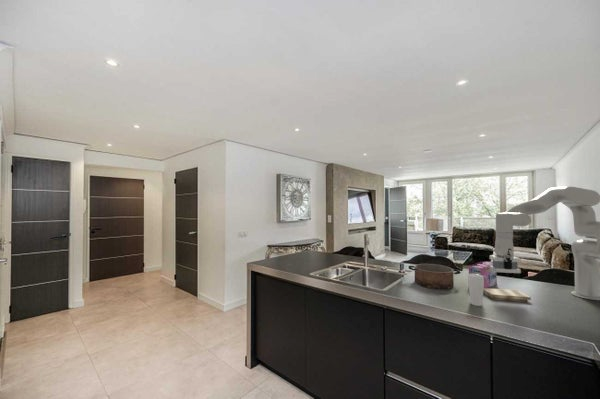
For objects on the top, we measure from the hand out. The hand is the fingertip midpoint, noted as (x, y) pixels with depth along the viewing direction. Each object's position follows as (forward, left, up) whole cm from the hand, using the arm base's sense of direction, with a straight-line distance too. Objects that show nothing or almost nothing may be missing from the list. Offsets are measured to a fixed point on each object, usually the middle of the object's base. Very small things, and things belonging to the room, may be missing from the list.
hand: (504, 267), depth 142 cm
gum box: (+2, -21, -17) cm, 27 cm away
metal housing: (0, 0, -2) cm, 2 cm away
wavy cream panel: (0, 0, -17) cm, 17 cm away
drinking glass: (+20, +14, -17) cm, 30 cm away
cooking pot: (+32, -18, -17) cm, 40 cm away
